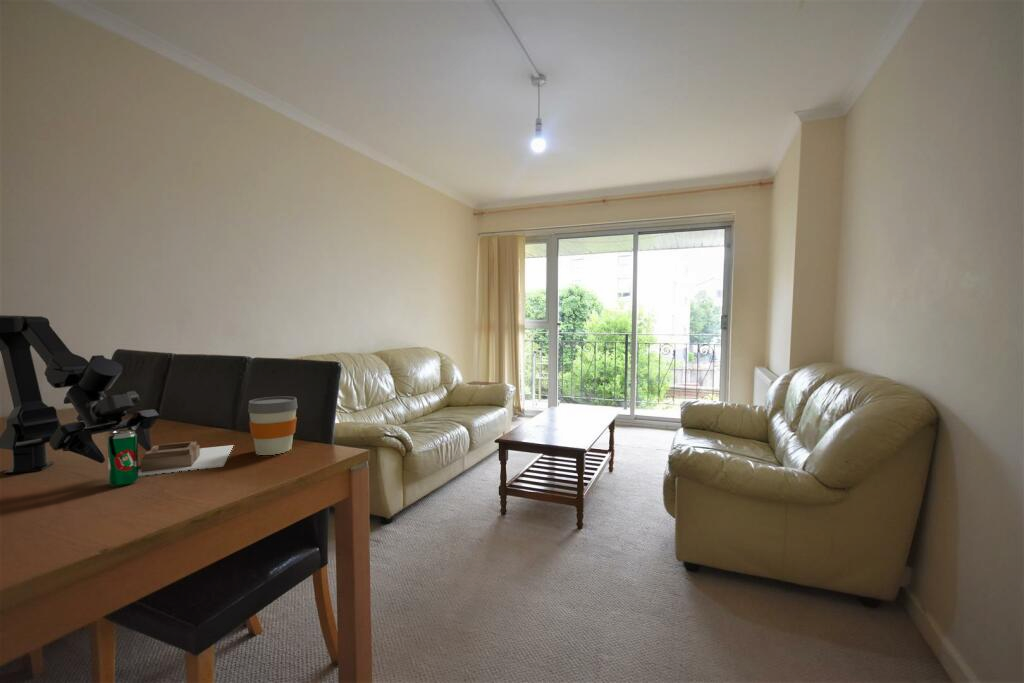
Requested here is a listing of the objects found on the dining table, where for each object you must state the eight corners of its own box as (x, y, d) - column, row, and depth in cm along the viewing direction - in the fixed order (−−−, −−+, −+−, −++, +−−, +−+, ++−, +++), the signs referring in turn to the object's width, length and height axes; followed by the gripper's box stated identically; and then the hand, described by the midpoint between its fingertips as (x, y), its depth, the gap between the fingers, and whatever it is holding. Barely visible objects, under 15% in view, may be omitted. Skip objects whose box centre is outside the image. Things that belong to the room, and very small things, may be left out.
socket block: (153, 462, 112) (153, 444, 112) (199, 457, 117) (199, 440, 117) (141, 474, 104) (140, 455, 103) (191, 468, 108) (191, 449, 108)
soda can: (116, 480, 99) (115, 429, 99) (143, 478, 101) (141, 428, 100) (103, 488, 94) (101, 435, 94) (131, 486, 96) (129, 433, 95)
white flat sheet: (157, 454, 119) (157, 452, 119) (233, 446, 127) (233, 444, 127) (132, 477, 101) (132, 475, 101) (223, 466, 109) (223, 464, 109)
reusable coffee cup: (307, 449, 125) (306, 398, 124) (264, 460, 114) (263, 405, 114) (282, 443, 131) (281, 395, 131) (239, 453, 121) (238, 401, 120)
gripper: (56, 387, 89) (94, 443, 86) (153, 377, 107) (186, 423, 104) (32, 422, 91) (69, 478, 89) (131, 406, 109) (164, 452, 107)
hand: (127, 455), depth 97 cm, fingers open, 9 cm apart
